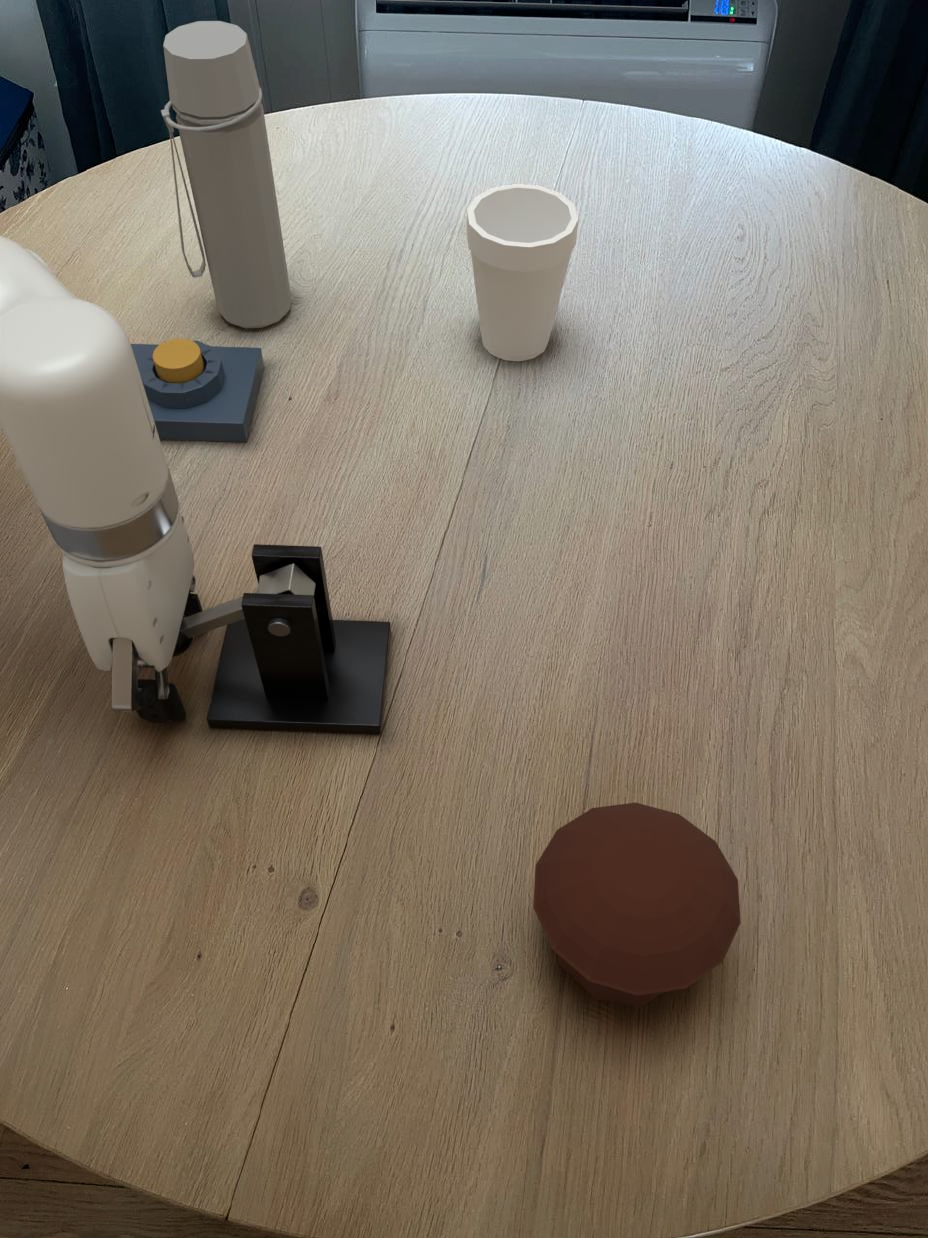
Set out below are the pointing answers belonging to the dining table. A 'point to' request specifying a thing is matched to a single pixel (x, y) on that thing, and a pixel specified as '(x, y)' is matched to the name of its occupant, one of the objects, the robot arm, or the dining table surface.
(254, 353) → the button housing
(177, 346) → the button
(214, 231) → the water bottle
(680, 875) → the muffin
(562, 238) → the foam cup
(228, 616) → the tap lever
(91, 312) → the robot arm
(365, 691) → the bracket
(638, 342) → the dining table surface
